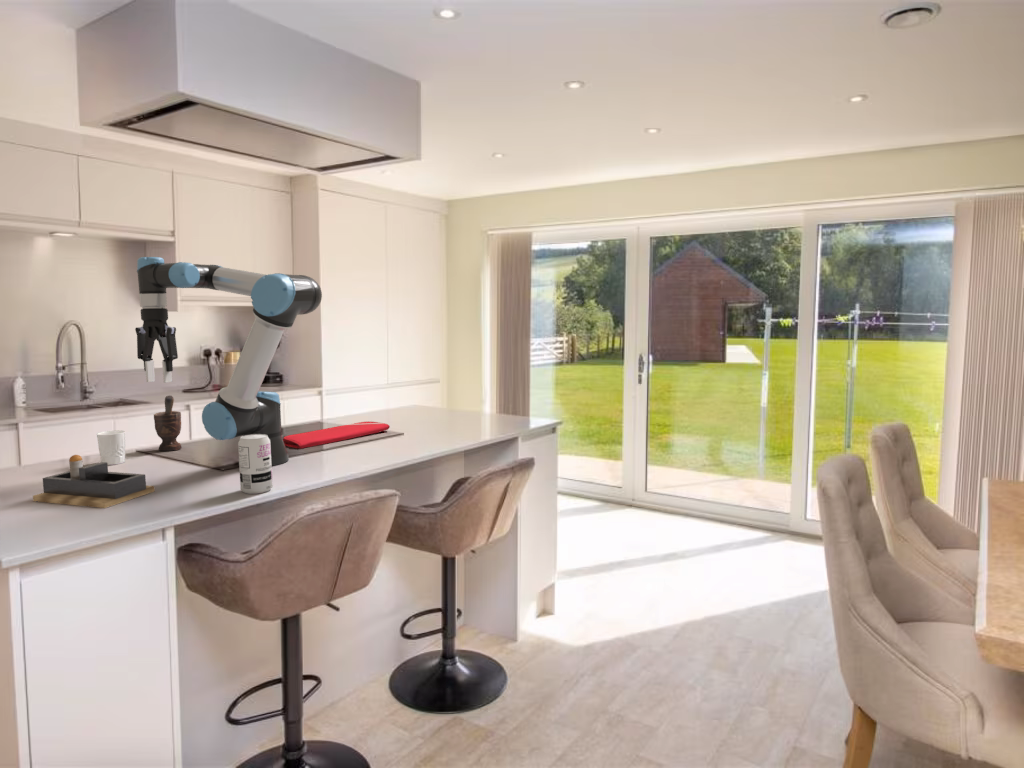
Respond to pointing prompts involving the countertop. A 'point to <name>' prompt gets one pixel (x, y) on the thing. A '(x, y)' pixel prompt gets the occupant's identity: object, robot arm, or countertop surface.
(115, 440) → the white cup
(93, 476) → the dark grey tray
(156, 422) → the mortar and pestle
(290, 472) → the countertop surface
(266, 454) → the supplement can
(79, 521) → the countertop surface
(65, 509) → the countertop surface
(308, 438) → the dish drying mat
